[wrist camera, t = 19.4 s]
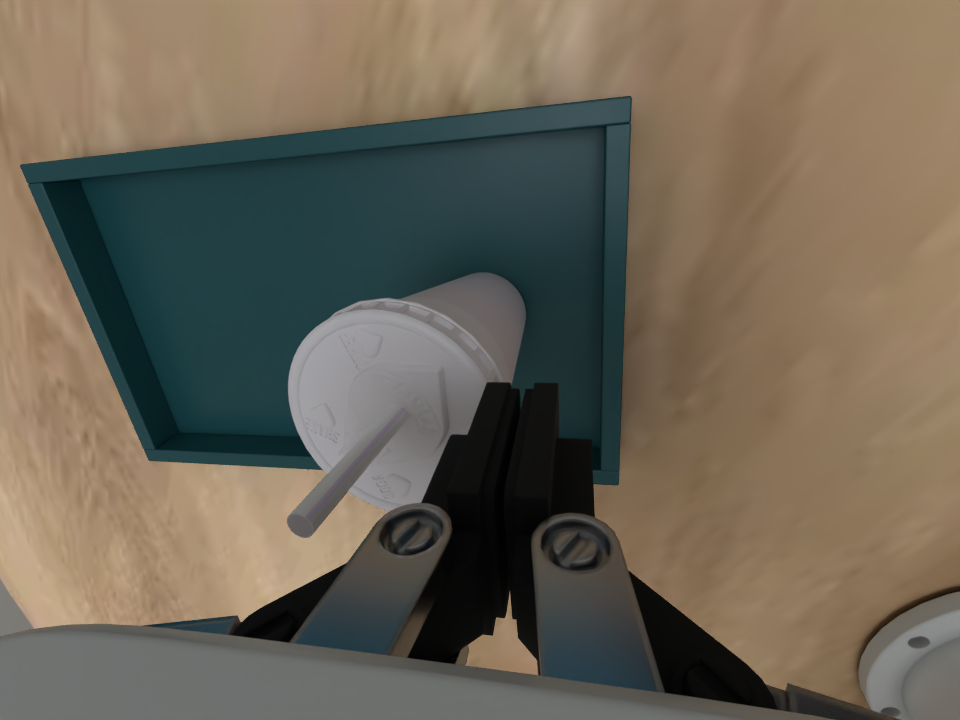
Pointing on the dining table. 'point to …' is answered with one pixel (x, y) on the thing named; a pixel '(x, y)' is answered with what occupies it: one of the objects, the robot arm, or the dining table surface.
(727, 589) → the dining table surface
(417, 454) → the smoothie
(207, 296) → the tray
